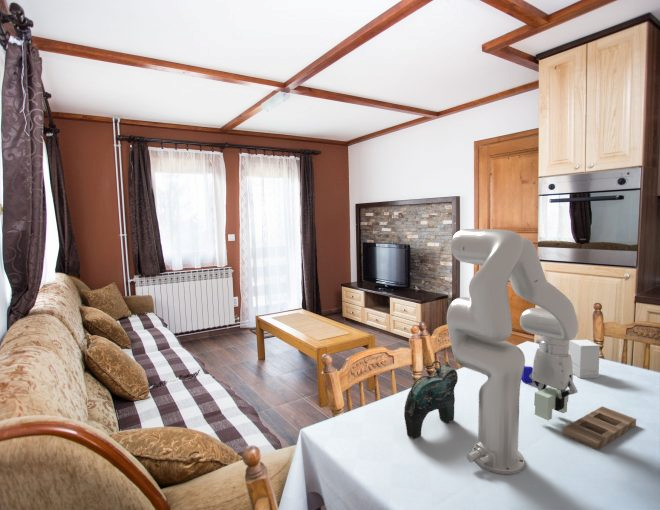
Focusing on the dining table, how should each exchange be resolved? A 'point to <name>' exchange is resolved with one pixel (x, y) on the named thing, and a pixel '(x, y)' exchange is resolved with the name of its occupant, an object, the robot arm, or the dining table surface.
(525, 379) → the cable clip
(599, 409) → the brown wooden board
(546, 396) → the tall sage green block
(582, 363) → the supplement box
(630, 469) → the dining table surface
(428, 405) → the green ceramic figurine
